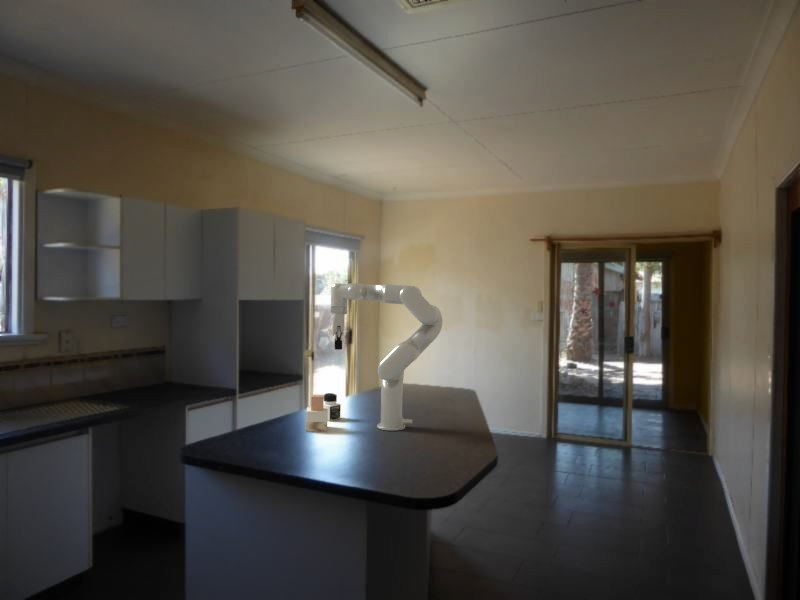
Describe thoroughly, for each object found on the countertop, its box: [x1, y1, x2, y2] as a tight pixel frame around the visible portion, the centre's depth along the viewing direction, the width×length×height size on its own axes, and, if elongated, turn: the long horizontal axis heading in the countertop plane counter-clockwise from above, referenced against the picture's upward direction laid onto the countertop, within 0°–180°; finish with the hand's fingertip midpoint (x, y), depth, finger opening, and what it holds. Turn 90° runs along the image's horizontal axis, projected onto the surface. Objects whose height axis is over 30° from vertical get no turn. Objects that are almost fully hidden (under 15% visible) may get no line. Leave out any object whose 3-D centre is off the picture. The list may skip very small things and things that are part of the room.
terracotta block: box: [310, 394, 324, 411], centre depth 244 cm, size 5×5×6 cm
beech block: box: [305, 421, 328, 433], centre depth 244 cm, size 9×9×4 cm
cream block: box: [305, 406, 329, 423], centre depth 244 cm, size 9×9×4 cm
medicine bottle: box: [323, 392, 341, 422], centre depth 264 cm, size 7×7×12 cm
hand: (338, 348), depth 254 cm, fingers open, 9 cm apart
